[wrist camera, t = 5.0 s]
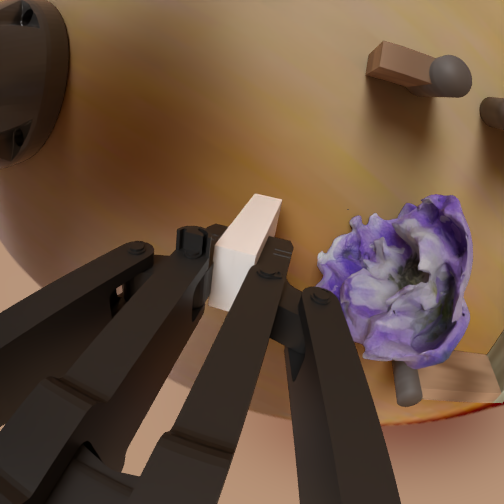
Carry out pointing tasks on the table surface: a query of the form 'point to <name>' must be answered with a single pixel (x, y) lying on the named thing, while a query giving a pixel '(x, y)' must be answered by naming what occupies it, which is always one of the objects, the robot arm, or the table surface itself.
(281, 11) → the table surface
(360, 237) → the flower
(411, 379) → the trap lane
